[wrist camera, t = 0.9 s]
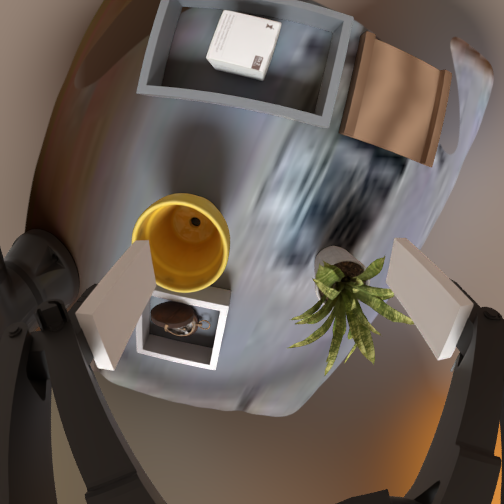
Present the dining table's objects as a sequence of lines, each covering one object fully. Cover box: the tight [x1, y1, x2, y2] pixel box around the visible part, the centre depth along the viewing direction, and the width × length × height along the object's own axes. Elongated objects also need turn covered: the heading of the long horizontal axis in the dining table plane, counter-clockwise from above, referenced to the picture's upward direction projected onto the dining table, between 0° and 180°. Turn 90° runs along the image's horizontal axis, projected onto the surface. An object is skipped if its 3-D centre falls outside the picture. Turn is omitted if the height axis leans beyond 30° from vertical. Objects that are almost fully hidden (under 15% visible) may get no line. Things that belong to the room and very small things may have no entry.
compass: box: [151, 302, 210, 337], centre depth 41 cm, size 8×8×7 cm
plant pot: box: [132, 193, 230, 293], centre depth 34 cm, size 10×10×10 cm
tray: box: [339, 31, 452, 167], centre depth 30 cm, size 13×14×2 cm
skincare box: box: [206, 10, 281, 81], centre depth 26 cm, size 6×6×7 cm
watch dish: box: [136, 284, 231, 370], centre depth 43 cm, size 13×13×4 cm
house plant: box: [289, 246, 414, 375], centre depth 33 cm, size 14×14×16 cm
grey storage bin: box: [137, 0, 354, 128], centre depth 27 cm, size 21×14×5 cm, turn 78°
